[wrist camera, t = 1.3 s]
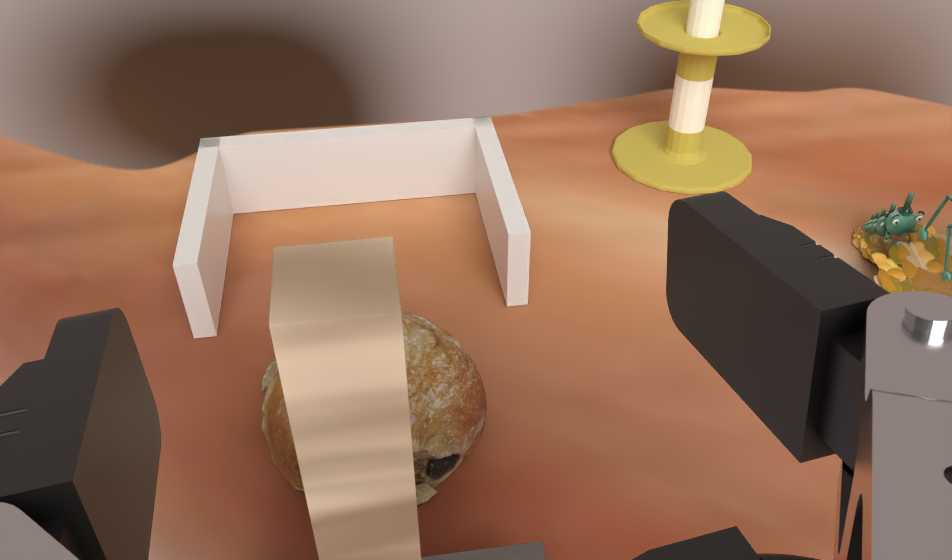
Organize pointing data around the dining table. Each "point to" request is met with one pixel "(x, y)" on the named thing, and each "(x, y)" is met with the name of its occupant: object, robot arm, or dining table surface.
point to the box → (343, 192)
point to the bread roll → (430, 406)
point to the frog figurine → (907, 251)
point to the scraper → (352, 400)
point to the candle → (691, 100)
